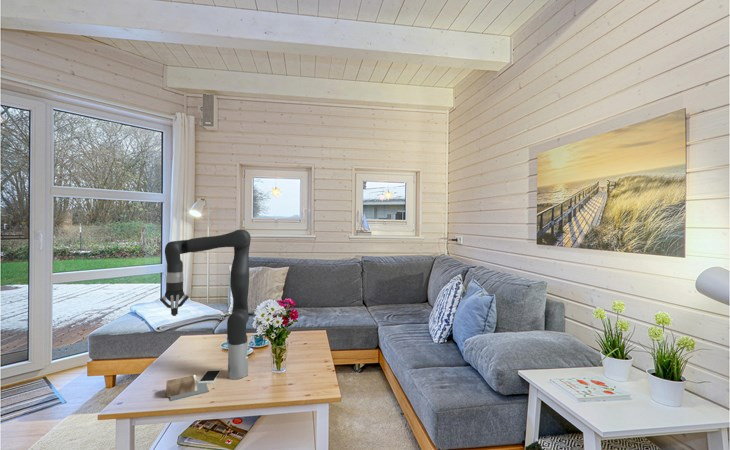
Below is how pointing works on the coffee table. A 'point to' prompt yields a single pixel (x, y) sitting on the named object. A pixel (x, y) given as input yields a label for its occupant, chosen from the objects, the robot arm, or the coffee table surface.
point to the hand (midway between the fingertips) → (174, 315)
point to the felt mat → (200, 389)
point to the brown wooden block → (181, 385)
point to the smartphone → (210, 376)
